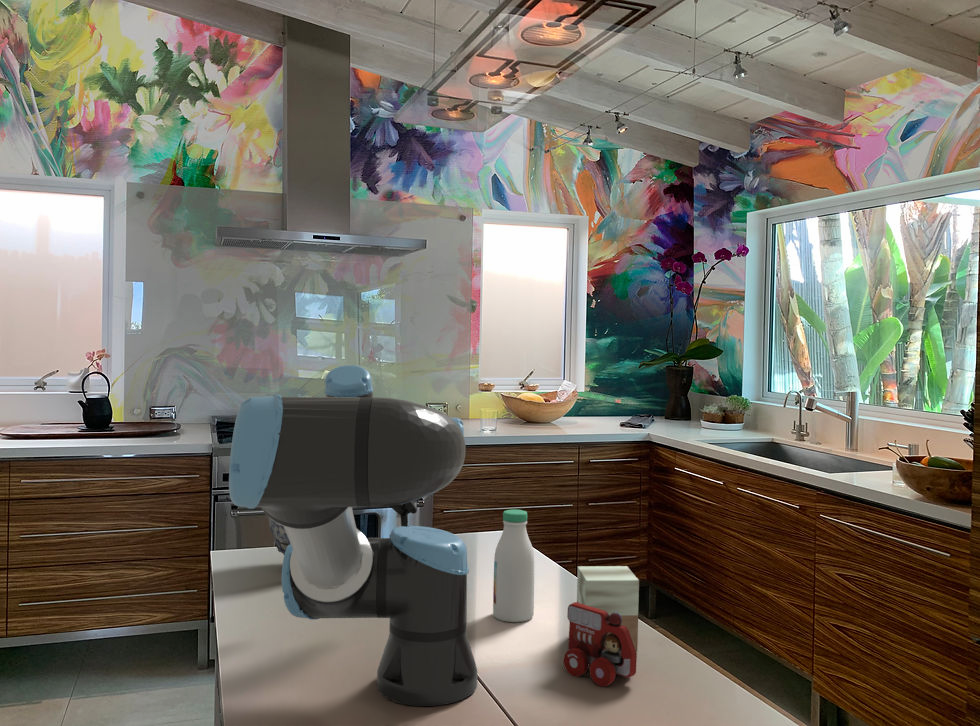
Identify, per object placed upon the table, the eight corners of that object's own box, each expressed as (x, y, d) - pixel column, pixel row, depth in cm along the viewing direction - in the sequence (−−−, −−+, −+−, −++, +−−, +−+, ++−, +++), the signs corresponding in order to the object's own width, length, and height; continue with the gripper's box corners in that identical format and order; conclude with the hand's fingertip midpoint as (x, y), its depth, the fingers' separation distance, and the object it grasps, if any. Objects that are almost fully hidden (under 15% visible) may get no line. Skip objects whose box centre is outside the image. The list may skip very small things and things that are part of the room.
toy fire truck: (620, 694, 122) (621, 625, 121) (554, 670, 130) (555, 605, 130) (645, 680, 127) (646, 614, 126) (580, 658, 135) (582, 595, 135)
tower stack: (637, 650, 139) (638, 580, 138) (584, 650, 138) (586, 580, 138) (625, 632, 147) (627, 566, 147) (576, 632, 147) (577, 566, 146)
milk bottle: (542, 616, 155) (544, 511, 154) (515, 626, 149) (517, 517, 149) (511, 606, 160) (513, 505, 159) (484, 616, 154) (486, 511, 154)
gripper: (428, 434, 143) (431, 523, 154) (284, 436, 142) (298, 526, 153) (427, 461, 136) (430, 552, 148) (276, 464, 135) (291, 556, 147)
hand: (363, 539), depth 151 cm, fingers open, 13 cm apart
